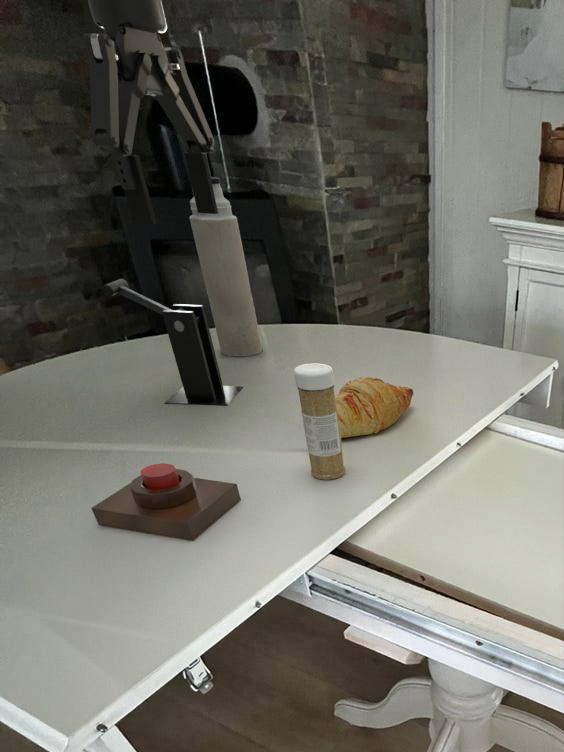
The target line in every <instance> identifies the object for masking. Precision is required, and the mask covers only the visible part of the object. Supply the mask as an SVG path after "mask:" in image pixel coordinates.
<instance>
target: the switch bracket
mask: <svg viewBox="0 0 564 752" xmlns="http://www.w3.org/2000/svg"><path fill="white" fill-rule="evenodd" d="M179 308H183V309H185V310H187V311H176V310H178V309H179ZM161 315H162V319H163V322H164V325H165V329H166V332H167V335H168V339H169V343H170V345H171V350H172V353H173V356H174V359H175V363H176V366H177V370H178V373H179V374H178V375H179V377H180V381H181V384H182V387H180V388H179V390H177V391H176V392H175V393H174V394H172V395H171V396H170V398H168V399H167V400H166V401H165V402H163V404H164V405H187V406H188V405H191V406H224V407H228V406H229V405H230V404H231V403H232V402H233V401H234V400H235V399H236V397H237V396H238V395H239V394H240V393H241V392H242V391H243V390H244V389H245V386H237V385H235V386H234V385H223V380H222V376H221V373H220V368H219V364H218V360H217V356H216V351H215V347H214V343H213V339H212V334H211V331H210V327H209V323H208V319H207V315H206V310H205V307H204V305H203V304H183V303H182V304H181V303H179V304H177V303H174V304H173V305H172V309H171V310H164V311H162V314H161ZM195 315H197V316H199V317H200V318H199V324H198V325H197V321H196V318H195Z"/></svg>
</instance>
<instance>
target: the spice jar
mask: <svg viewBox="0 0 564 752" xmlns="http://www.w3.org/2000/svg"><path fill="white" fill-rule="evenodd" d="M293 376H294V383H295V386H296V388H297V391H298V397H299V402H300V403H299V404H300V409H301V417H302V424H303V428H304V436H305V442H306V448H307V453H308V456H309V463H310V469H311V470H310V473H311V475H312V476H313V478H315V479H319V480H325V481H327V480H328V481H331V480H336V479H338V478H340V477H342V476H343V475H344V474H345V473H346V466H345V465H344V457H343V456H344V455H343V449H342V448H343V445H342V444H343V443H342V438H341V435H340V427H339V424H338V416H337V409H336V402H335V390H334V389H335V376H334V371H333V368H332V367H331V366H330V365H328V364H324V363H304V364H301V365H297V366H296V367H295V368H294V369H293Z"/></svg>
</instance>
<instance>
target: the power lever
mask: <svg viewBox="0 0 564 752" xmlns="http://www.w3.org/2000/svg"><path fill="white" fill-rule="evenodd" d="M102 292H103V293H104V295H105V296H107V297H114V296H115V295H117V294H118V295H119V296H122V297H125V298H126V299H129V300H131V301H132V302H135V303H137V304H139V305H141V306H143V307H145V308H147V309H150V310H152V311H154V312H155V313H158V314H159V315H162V311H164V310H172V309H171V308H169V307H168V306H166V305H163V304H162V303H159V302H157V301H154V300H153V299H151V298H149V297H147V296H145V295H143V294H140V293H139V292H136V291H134V290H132V289H130V288H129V283H128V281H127V280H126V279H124V278H119V279H117V280H114V281H112V282H109V283H106V284H104V285H103V286H102ZM176 311H187V310H185V309H183V308H179V309H178V310H176ZM195 318H196V321H197V325H198V324H199V318H200V317H199V316H197V315H195Z"/></svg>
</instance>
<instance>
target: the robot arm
mask: <svg viewBox="0 0 564 752" xmlns="http://www.w3.org/2000/svg"><path fill="white" fill-rule="evenodd" d="M87 3H88V6H89V11H90V13H91V17H92V21H93V22H94V24H95V25H96V26H97V27H99V28H101V29H103V30H104V33H84V35H83V40H84V45H85V49H86V53H87V57H88V63H89V93H90V96H89V97H90V125H91V139H92V142H93V144H94V145H95V146H96V147H99V148H100V150H101V151H102V153H104V154H109V155H111V157H112V161H113V164H114V167H115V171H116V174H117V178H118V180H119V184H120V186H121V188H122V190H123V191H124V195H125V199H126V202H127V206H128V209H129V212H130V217H131V219H132V223H133V224H145V225H157V224H158V223H157V219H156V216H155V212H154V209H153V204H152V200H151V197H150V194H149V190H148V186H147V181H146V178H145V174H144V170H143V168H142V163H141V159H140V156H139V155H136V154H134V155H133V154H132V153H133V147H134V140H135V135H136V129H137V123H138V122H137V121H138V117H139V110H140V103H141V99H142V98H144V97H145V96H151V98H152V99H153V100H155V101H157V102H158V103H159V105H160V107H161V109H162V110H163V112H164V113H165V115H166V116H167V118H168V119H169V121H170V123H171V125H172V126H173V127H174V129H175V131H176V132H177V134H178V136H179V137H180V140H181V141H182V142H183V144H184V146H185V147H186V149H187V150H188V152H184V153H183V154H184V158H185V162H186V163H185V164H186V167H187V171H188V176H189V181H190V180H191V182H190V184H191V189H193V190H192V194H193V193H194V194H193V197H194V198H195V202H196V207H197V211H198V213H207V214H218V210H217V205H216V200H215V196H214V191H213V186H212V181H211V177H212V175H211V170H210V166H209V165H210V164H209V160H208V156H207V154H213V153H214V150H215V149H214V147H215V138H214V135H213V133H212V131H211V128H210V126H209V124H208V121H207V119H206V116H205V113H204V111H203V109H202V106H201V104H200V101H199V99H198V97H197V94H196V92H195V89H194V88H193V85H192V82H191V80H190V78H189V76H188V73H187V69H186V65H185V60H184V57H183V53H182V51H181V50H180V48H179V47H164V46H163V43H162V40H161V35H162V34H164V33H166V31H167V29H168V25H167V20H166V15H165V11H164V6H163V3H162V0H87ZM104 131H105V132H104Z"/></svg>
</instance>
